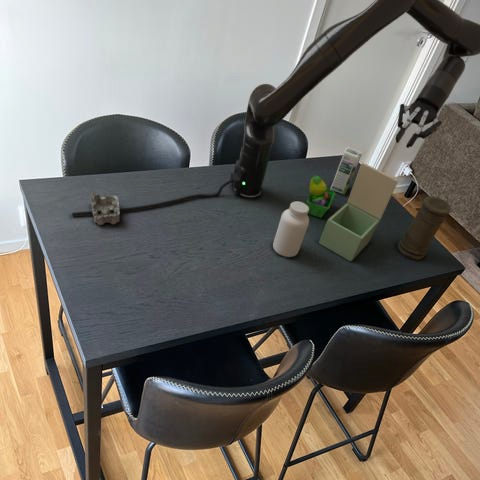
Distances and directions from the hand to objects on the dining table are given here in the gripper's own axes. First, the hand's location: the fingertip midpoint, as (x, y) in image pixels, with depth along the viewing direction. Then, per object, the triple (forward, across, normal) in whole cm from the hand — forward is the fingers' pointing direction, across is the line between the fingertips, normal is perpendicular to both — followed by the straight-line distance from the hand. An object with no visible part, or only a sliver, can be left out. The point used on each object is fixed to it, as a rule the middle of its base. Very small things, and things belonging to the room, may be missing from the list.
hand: (402, 143), depth 136 cm
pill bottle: (+44, -12, -4) cm, 46 cm away
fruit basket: (+26, -16, +14) cm, 33 cm away
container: (+22, +18, +18) cm, 33 cm away
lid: (+17, 0, 0) cm, 17 cm away
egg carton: (+64, -56, -24) cm, 89 cm away
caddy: (+32, 0, +8) cm, 33 cm away
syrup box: (+12, -16, +27) cm, 34 cm away
